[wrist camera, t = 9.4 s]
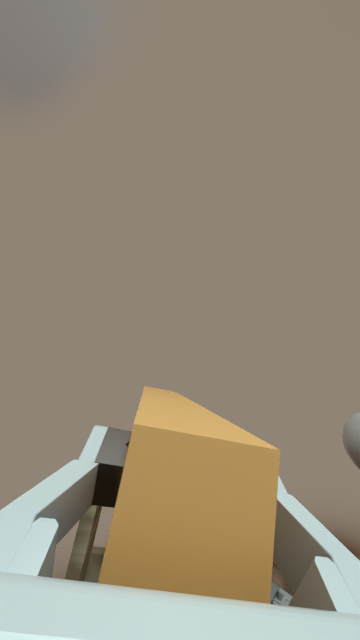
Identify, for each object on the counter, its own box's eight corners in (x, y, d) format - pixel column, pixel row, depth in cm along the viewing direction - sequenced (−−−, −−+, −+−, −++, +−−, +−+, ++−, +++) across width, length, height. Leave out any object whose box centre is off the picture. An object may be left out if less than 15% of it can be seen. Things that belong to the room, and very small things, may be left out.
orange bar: (169, 425, 28) (175, 392, 29) (267, 645, 5) (280, 450, 6) (137, 419, 28) (144, 385, 29) (87, 627, 5) (133, 423, 6)
